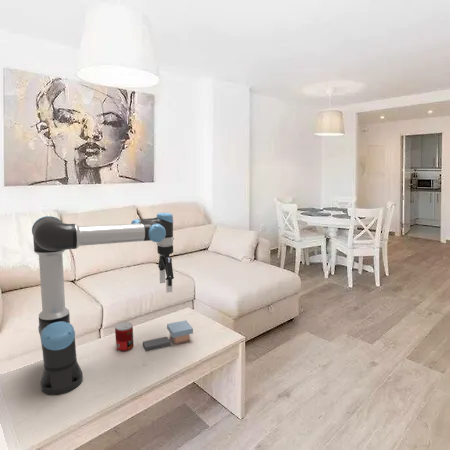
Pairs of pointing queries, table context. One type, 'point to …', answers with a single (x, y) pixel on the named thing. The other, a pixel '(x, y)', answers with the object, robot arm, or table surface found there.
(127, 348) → the canned food
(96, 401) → the table surface
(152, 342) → the block
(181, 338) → the open box
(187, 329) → the blue square slab
